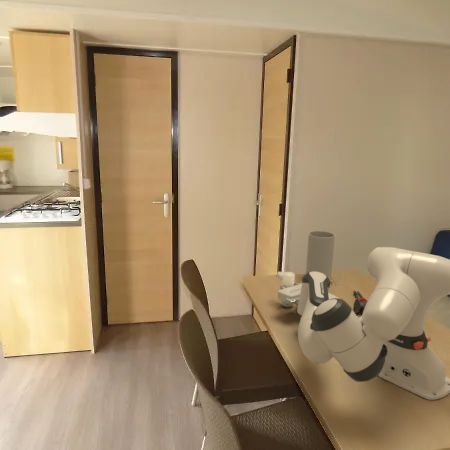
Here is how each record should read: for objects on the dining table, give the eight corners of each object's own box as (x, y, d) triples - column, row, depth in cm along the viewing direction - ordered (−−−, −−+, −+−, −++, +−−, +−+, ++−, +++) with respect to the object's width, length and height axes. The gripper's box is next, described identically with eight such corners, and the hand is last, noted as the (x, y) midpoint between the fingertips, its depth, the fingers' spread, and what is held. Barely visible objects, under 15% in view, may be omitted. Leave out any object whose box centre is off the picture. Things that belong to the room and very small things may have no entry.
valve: (394, 326, 148) (357, 319, 149) (374, 301, 173) (343, 295, 174) (398, 312, 146) (360, 305, 147) (378, 289, 172) (346, 282, 173)
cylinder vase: (335, 284, 183) (340, 236, 177) (313, 287, 179) (317, 238, 173) (321, 275, 195) (325, 230, 189) (300, 278, 191) (304, 231, 185)
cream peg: (295, 305, 158) (297, 274, 155) (286, 307, 155) (288, 276, 152) (281, 297, 165) (283, 268, 162) (273, 300, 162) (274, 270, 159)
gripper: (291, 310, 141) (267, 297, 152) (327, 298, 153) (302, 287, 164) (292, 295, 140) (268, 283, 151) (328, 284, 151) (303, 273, 162)
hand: (286, 285), depth 157 cm, fingers closed on cream peg, 5 cm apart
